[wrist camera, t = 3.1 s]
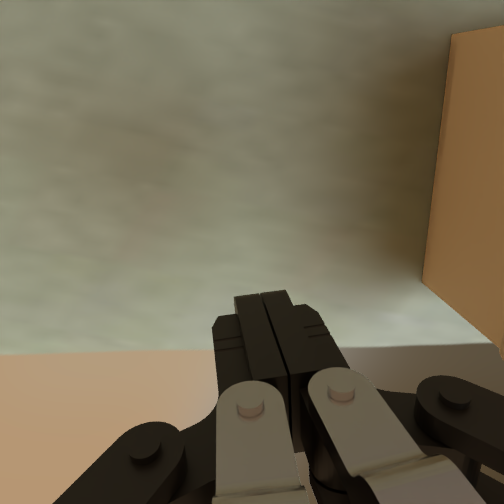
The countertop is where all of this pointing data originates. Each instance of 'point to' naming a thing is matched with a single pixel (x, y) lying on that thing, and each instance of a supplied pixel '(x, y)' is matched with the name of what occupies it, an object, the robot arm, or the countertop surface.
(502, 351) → the lid
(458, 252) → the carton
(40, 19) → the countertop surface
